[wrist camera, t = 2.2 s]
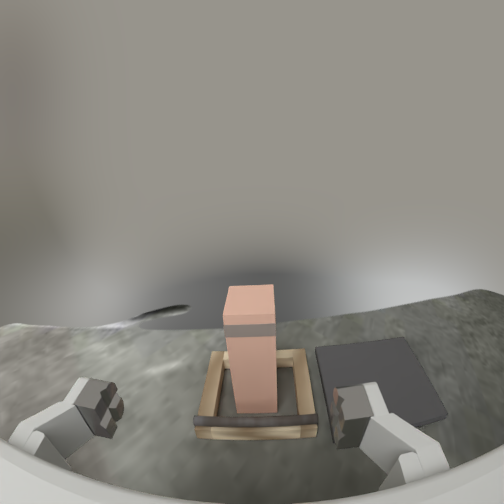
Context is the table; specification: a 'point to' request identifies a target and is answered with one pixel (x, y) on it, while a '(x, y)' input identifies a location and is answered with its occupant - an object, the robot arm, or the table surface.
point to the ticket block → (252, 347)
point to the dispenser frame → (257, 426)
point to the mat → (382, 377)
